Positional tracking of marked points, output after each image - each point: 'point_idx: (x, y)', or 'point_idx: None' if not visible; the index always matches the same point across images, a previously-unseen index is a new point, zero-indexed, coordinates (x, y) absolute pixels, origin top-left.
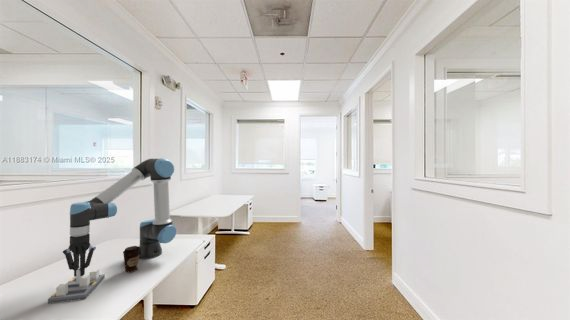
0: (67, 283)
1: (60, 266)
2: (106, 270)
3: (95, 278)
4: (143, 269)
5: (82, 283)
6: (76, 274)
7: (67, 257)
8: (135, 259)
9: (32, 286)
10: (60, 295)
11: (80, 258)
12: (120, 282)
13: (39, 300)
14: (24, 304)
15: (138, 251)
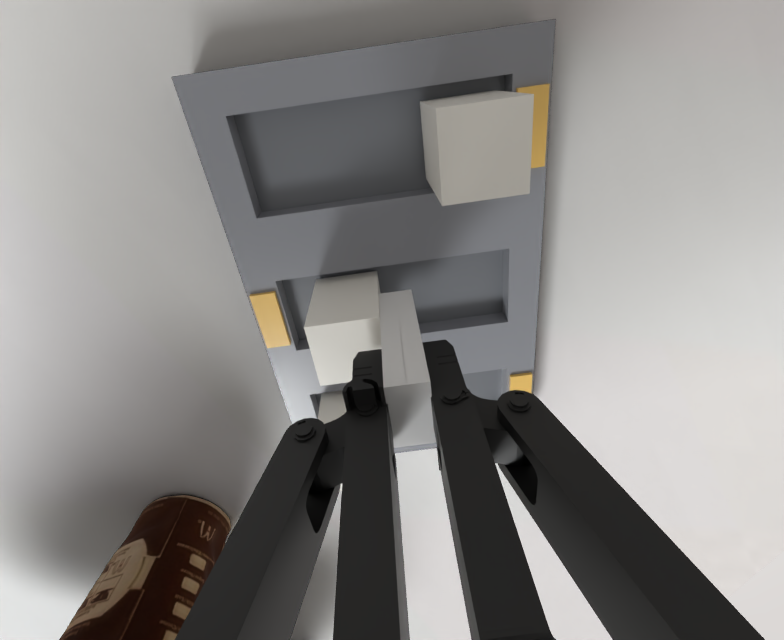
0: (525, 347)
1: None
2: None
3: (325, 402)
4: (103, 527)
5: (350, 294)
6: (420, 348)
7: (694, 608)
8: (77, 611)
9: (779, 369)
10: (457, 96)
11: (388, 582)
12: (110, 366)
13: (645, 117)
14: (754, 48)
15: None
